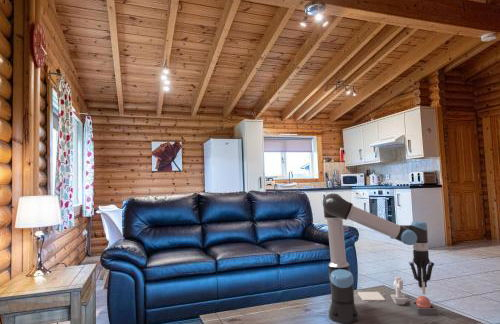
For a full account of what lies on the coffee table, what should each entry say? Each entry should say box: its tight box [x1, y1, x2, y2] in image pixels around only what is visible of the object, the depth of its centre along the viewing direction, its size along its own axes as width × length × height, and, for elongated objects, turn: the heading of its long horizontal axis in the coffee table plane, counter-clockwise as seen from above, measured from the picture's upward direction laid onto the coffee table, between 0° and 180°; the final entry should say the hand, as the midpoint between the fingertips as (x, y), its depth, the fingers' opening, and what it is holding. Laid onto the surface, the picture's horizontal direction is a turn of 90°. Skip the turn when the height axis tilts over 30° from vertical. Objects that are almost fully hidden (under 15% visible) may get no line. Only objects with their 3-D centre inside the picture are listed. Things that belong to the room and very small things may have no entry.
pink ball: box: [415, 295, 432, 308], centre depth 178 cm, size 7×7×7 cm
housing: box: [409, 301, 439, 316], centre depth 178 cm, size 10×10×3 cm
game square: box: [357, 291, 386, 302], centre depth 200 cm, size 13×13×1 cm
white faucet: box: [390, 276, 408, 305], centre depth 190 cm, size 7×9×15 cm
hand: (423, 293), depth 178 cm, fingers closed
